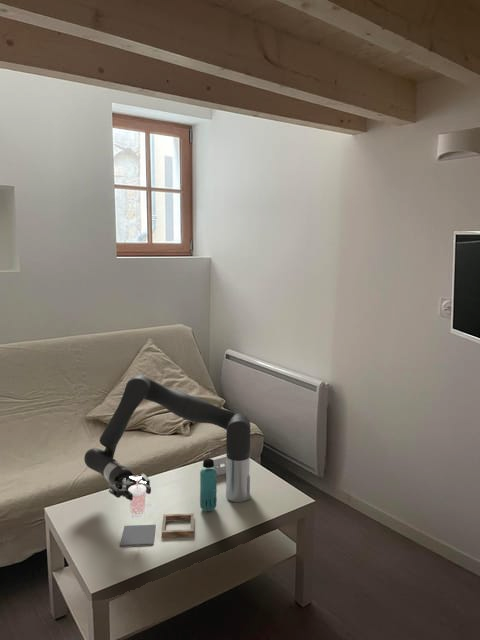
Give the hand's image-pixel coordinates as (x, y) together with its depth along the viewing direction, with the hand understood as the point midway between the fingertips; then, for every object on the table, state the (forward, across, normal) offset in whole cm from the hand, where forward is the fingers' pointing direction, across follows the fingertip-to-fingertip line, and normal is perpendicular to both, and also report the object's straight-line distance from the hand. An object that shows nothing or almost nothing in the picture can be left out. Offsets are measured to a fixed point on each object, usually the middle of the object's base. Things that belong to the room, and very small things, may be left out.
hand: (140, 494), depth 165 cm
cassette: (-20, +51, +17) cm, 57 cm away
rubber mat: (-2, 0, +16) cm, 17 cm away
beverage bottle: (0, +29, +17) cm, 33 cm away
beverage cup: (-2, 0, +8) cm, 9 cm away
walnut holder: (+2, +13, +16) cm, 21 cm away
